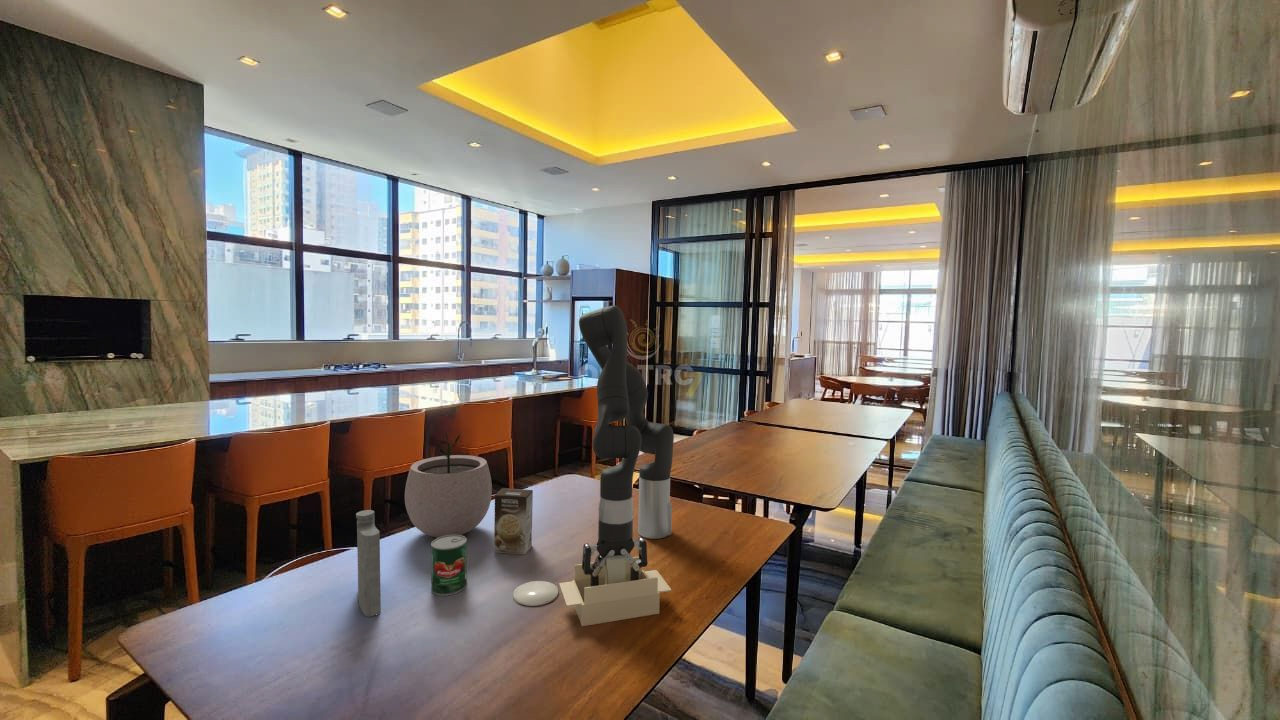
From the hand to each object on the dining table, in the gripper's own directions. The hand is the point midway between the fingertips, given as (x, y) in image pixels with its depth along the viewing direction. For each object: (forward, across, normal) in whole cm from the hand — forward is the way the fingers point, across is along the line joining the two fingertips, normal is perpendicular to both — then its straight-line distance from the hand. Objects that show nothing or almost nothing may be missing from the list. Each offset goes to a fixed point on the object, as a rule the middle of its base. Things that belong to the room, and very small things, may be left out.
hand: (614, 588), depth 114 cm
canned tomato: (+4, +35, -19) cm, 40 cm away
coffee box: (+4, +19, -36) cm, 41 cm away
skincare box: (+4, 0, 0) cm, 4 cm away
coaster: (+4, +16, -10) cm, 19 cm away
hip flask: (+4, +52, -18) cm, 55 cm away
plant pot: (+4, +36, -52) cm, 63 cm away
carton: (+4, 0, 0) cm, 4 cm away
